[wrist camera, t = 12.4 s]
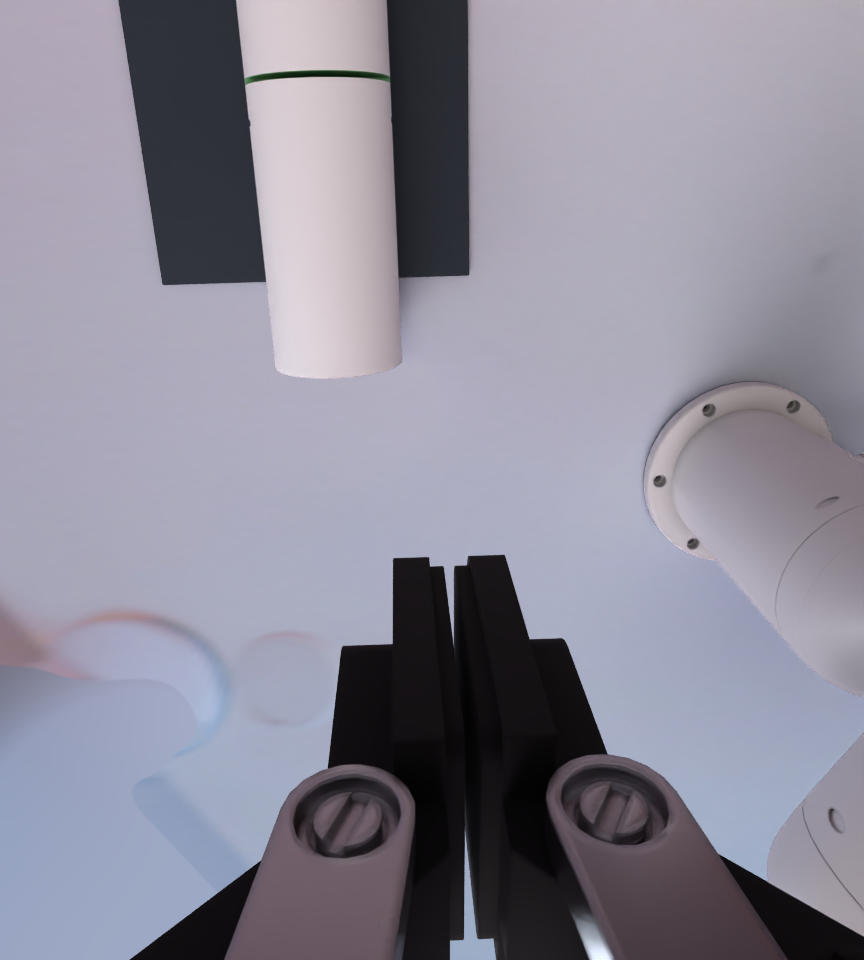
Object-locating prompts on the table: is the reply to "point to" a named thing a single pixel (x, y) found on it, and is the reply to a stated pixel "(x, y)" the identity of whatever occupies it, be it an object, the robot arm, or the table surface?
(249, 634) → the table surface
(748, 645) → the table surface
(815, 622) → the robot arm
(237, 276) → the desk mat
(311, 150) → the cylindrical container
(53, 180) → the table surface
